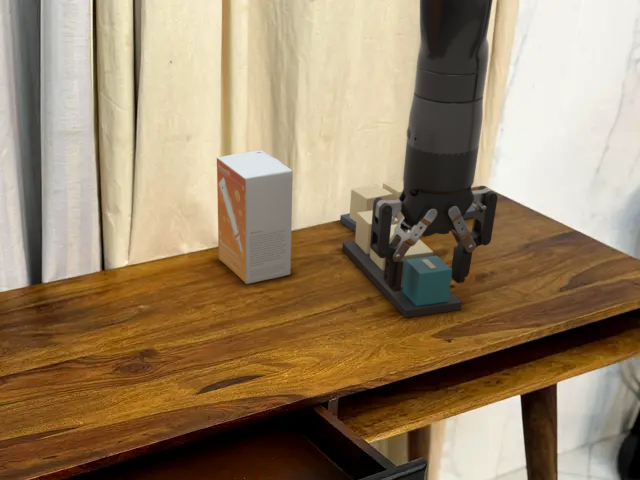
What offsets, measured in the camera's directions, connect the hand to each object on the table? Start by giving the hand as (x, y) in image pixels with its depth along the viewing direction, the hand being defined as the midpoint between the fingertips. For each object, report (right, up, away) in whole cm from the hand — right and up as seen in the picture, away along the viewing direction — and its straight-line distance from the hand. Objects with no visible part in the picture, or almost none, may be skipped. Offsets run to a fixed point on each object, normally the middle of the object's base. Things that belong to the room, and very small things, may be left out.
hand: (425, 284), depth 113 cm
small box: (-20, +4, +10) cm, 22 cm away
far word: (+2, +14, +22) cm, 27 cm away
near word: (-2, +2, +7) cm, 8 cm away
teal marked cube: (0, -1, +1) cm, 2 cm away
